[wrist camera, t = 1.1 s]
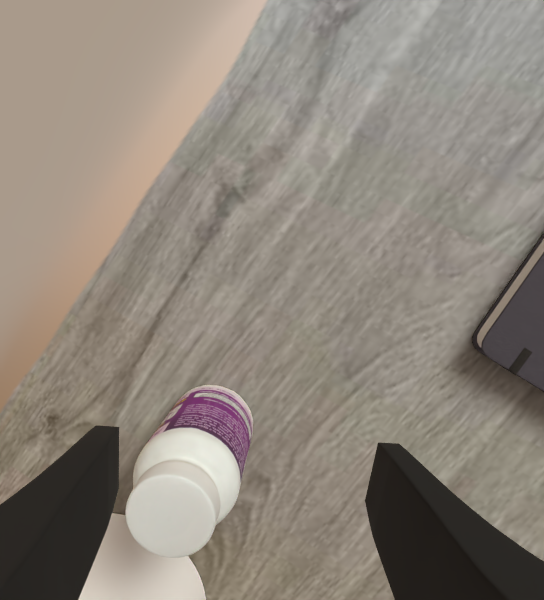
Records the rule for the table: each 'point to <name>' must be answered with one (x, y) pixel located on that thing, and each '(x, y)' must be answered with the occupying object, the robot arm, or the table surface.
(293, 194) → the table surface
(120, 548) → the canister
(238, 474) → the pill bottle
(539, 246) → the notebook
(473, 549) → the robot arm
